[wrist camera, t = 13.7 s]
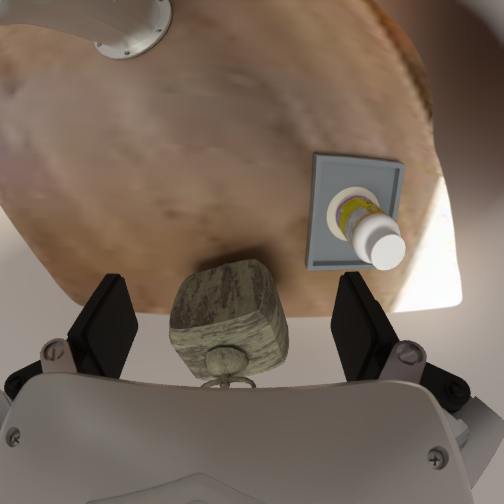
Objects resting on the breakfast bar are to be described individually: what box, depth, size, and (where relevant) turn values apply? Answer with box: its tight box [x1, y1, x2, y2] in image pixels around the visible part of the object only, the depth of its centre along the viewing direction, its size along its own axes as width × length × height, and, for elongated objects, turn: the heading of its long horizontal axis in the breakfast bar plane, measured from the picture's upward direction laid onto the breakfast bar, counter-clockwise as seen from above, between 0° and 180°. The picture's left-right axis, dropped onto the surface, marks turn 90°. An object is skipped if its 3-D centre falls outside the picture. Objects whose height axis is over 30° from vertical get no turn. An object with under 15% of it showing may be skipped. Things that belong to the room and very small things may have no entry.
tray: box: [305, 153, 405, 271], centre depth 41 cm, size 18×14×2 cm
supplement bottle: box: [336, 195, 405, 270], centre depth 35 cm, size 7×7×13 cm
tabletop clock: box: [169, 259, 289, 388], centre depth 36 cm, size 14×9×25 cm, turn 107°
